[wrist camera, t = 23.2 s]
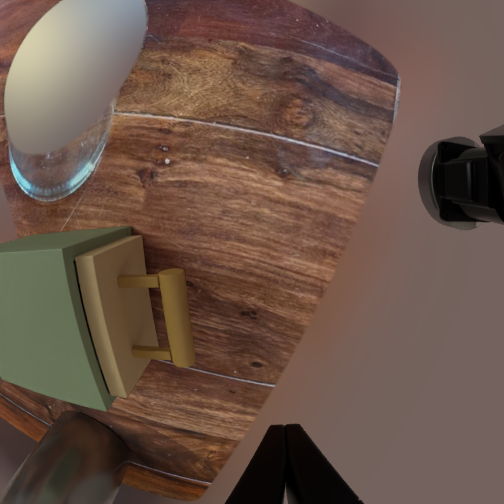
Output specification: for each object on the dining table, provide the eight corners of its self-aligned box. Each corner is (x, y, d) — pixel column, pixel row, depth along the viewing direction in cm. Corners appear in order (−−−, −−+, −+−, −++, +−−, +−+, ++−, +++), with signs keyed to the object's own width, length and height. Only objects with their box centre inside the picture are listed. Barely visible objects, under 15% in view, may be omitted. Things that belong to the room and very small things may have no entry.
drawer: (198, 232, 18) (167, 253, 12) (210, 349, 20) (191, 405, 14) (42, 242, 19) (-12, 260, 13) (63, 337, 21) (22, 373, 15)
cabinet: (131, 225, 19) (62, 248, 11) (150, 347, 21) (107, 411, 13) (31, 234, 20) (-37, 255, 12) (53, 336, 22) (1, 379, 14)
